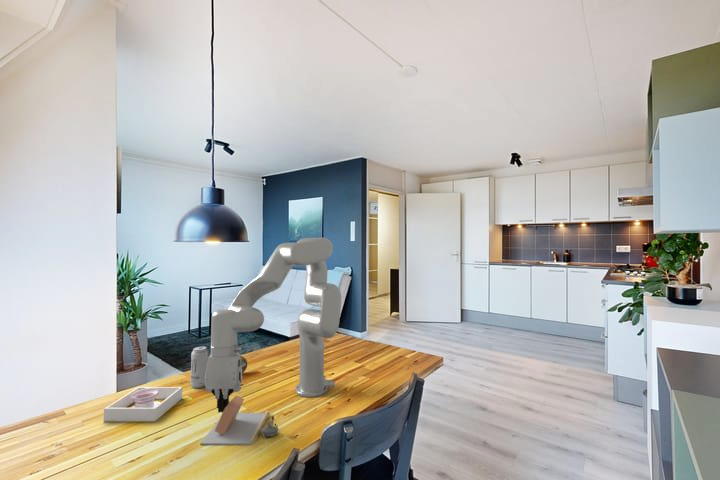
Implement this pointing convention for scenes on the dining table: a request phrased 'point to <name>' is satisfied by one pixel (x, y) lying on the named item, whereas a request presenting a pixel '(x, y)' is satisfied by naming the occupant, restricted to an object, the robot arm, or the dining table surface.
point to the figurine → (270, 429)
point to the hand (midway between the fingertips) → (222, 410)
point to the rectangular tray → (121, 413)
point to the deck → (229, 415)
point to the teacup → (145, 398)
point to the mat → (238, 430)
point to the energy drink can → (198, 366)
